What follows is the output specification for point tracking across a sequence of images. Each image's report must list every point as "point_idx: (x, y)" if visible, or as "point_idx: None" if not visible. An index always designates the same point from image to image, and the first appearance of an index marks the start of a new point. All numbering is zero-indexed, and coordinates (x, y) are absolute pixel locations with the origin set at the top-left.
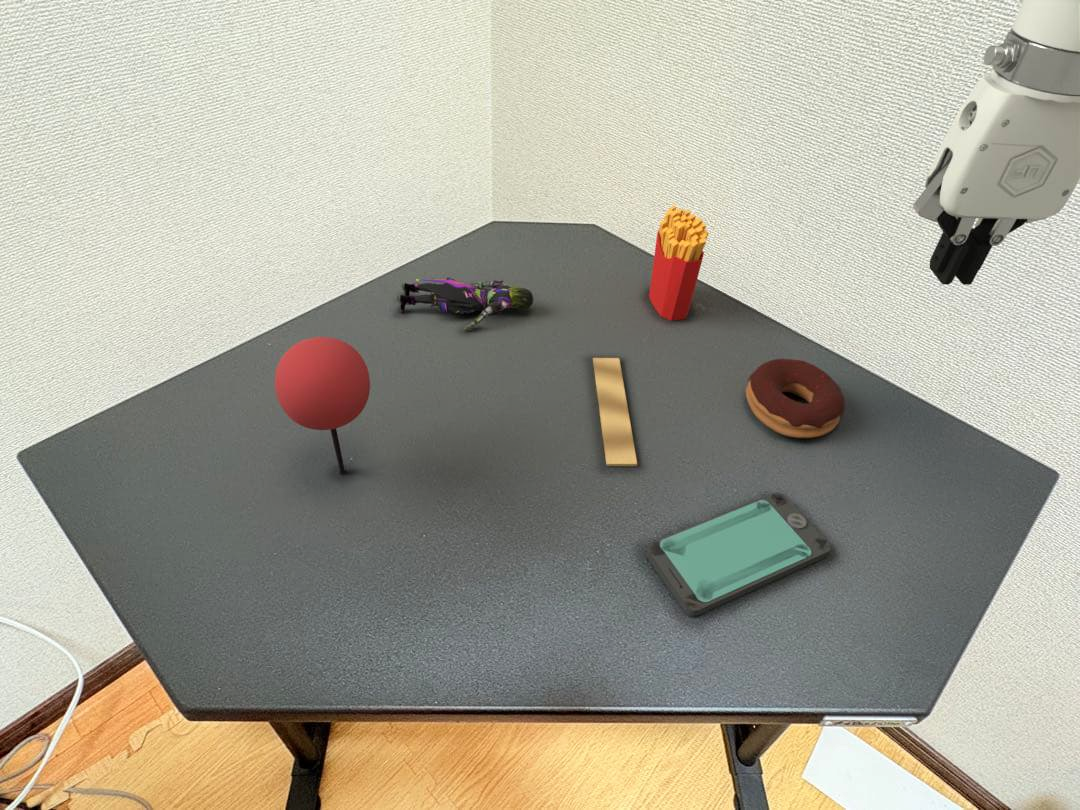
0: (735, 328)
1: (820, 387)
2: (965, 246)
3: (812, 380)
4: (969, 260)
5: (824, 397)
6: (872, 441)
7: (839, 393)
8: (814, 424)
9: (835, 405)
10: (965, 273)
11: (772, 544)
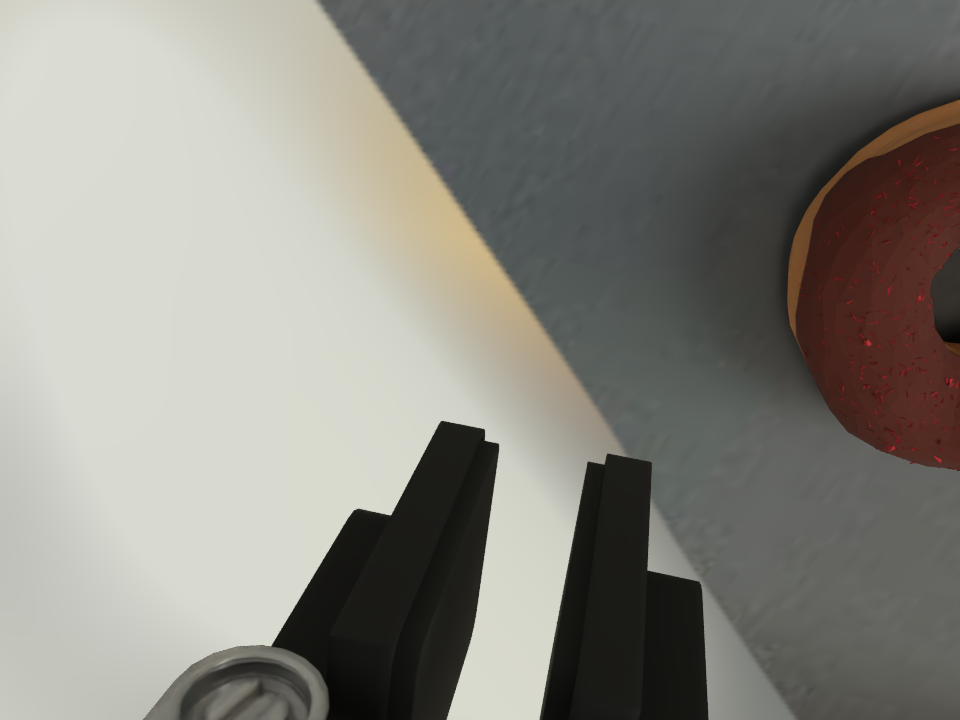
0: (902, 668)
1: (910, 291)
2: (607, 708)
3: (916, 334)
4: (458, 587)
5: (943, 228)
6: (738, 68)
7: (852, 245)
8: None
9: (919, 180)
10: (481, 500)
11: None
